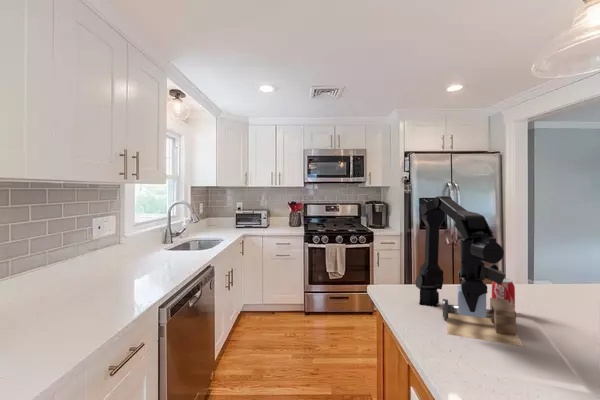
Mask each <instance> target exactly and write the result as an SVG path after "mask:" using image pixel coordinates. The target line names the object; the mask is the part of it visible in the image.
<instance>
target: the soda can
mask: <svg viewBox="0 0 600 400" xmlns="http://www.w3.org/2000/svg"><path fill="white" fill-rule="evenodd" d="M513 282H514V281H513V280H512V279H509V278H504V280H503V282H502V285H499V284H497V283H496V282H494V281H492V283H491V298H495V299H504V300H508V301H509V303H510V304H511V306H512V307H513V309H514V310H515V309H516V289H515V287H516V286H515V284H514V283H513ZM515 311H516V310H515Z"/></svg>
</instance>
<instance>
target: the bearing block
mask: <svg viewBox="0 0 600 400" xmlns="http://www.w3.org/2000/svg"><path fill="white" fill-rule="evenodd" d="M489 301H490V302H489V310H494V319H488V318H480V317H473V316H465V315H458V314H450V313H448V318H445V320H446V321H445V322H446V331H447V335H451V336H458V337H464V338H470V339H475V340H482V341H489V342H494V343H500V344H507V345H508V344H510V345H514V346H521V347H522V346H523V347H524V344H523V342H522V341H521V339H520V337H519V335H518V334H517V312H516V310H514V309H513V307H512V306H511V304H510V303H509V301H508V300H504V299H495V298H492V297H489Z"/></svg>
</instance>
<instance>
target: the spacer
mask: <svg viewBox="0 0 600 400" xmlns="http://www.w3.org/2000/svg"><path fill="white" fill-rule="evenodd" d="M457 306H458V309H459V315H465V316H473V317H480V318H486V309H487V294H482V295H481V296H479V299H478V302H477V305H476V309H475V312H470V310H469V307H468V305H467V302H466V300H465V297H464V295H463V292H462V290H461V285H457Z"/></svg>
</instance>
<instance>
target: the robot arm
mask: <svg viewBox="0 0 600 400" xmlns="http://www.w3.org/2000/svg"><path fill="white" fill-rule="evenodd" d="M420 215H421V220H422V222H423V223H424V225H425V237H424V238H425V239H424V241H425V242H424V243H425V244H424V261H423V264H422V265H421V266H420V268H419V273H418V275H417V277H416V279H415V281H414V284H415V287H416V288H417V289H419V302H418V305H421V306H427V307H435V308H437V307H438V305H439V304H440V293H439V291H438V290H442V288H443V284H444V270H443V269H442V268H441V267H440V264H439V249H440V247H439V246H440V227H441V225H443V222H444V221H445V219H446V215H447V216H448V217H449V218H450V219H452V221H453V222H454V227H455V229H456V230H457V231H458V233H460V235H458V237H457V240H460V258H459V262H460V268H459V269H458V270H457V275H458V276H457V277H458V282H459V284H460V286H461V290H462V292H463V295H464V297H465V300H466V302H467V305H468V307H469V310H470V312H475V309H476V305H477V302H478V299H479V296H481V295H482V294H486V295H487V294H488V286H487V285H488V284H487V283H486V282H485V280H489V281H492V282H493V281H494V282H496V283H497V284H499V285H502V282H503V280H504V278H505V277H506V274H505V272H504V271H502V270H500V269H499V266H498V265H497V263H500V261H502V259H503V258H504V255H505V253H504V250H503V247H502V246H501V245H500V244H499V243H498V242H497V238H496V237H494V234H493V233H494V232H493V231H492V229H491V228H490V226H489V223H488V221H487V219H486V218H485V216H484V215H483V214H480V213H477V212H474V211H473V212H472V211H469V210H468V209H465V208H464V207H462V206H461V205H460V204H459V203H457V202H456V201H455V200H453V199H452V197H451V196H449V195H442V196H441V195H438V196H435V197H434V198H433V199H431V200H428V201H426V202H425V203H424V204H422V206H421V207H420ZM485 262H486V263H488V264H489V265H486V264H485Z"/></svg>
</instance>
